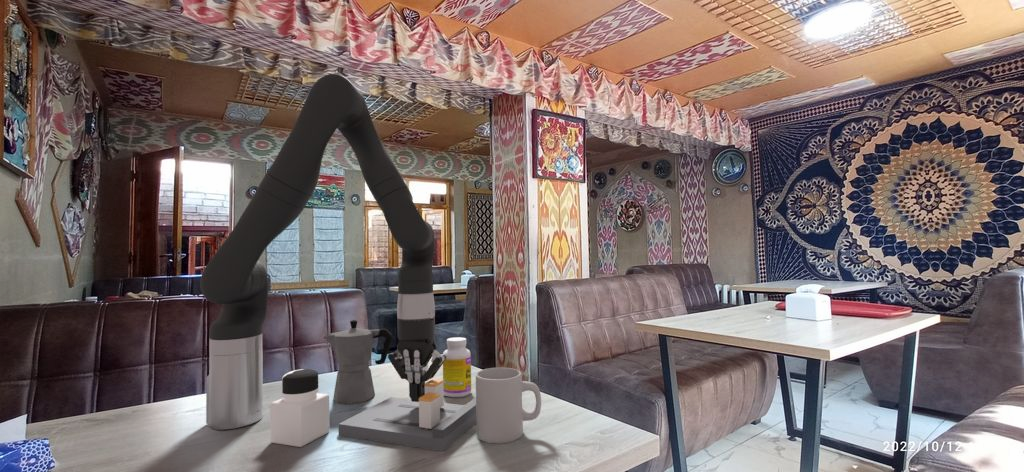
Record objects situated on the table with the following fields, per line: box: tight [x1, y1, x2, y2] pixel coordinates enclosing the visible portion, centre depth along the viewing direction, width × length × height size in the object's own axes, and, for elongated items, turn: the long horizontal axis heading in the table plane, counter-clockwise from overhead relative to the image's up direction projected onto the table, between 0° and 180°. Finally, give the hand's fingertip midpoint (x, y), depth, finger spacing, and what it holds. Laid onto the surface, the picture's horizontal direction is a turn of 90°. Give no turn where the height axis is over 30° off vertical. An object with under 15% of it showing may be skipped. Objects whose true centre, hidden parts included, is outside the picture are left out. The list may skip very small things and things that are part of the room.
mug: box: [475, 367, 542, 444], centre depth 81 cm, size 12×8×11 cm
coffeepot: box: [323, 319, 394, 405], centre depth 104 cm, size 15×9×18 cm, turn 100°
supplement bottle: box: [442, 336, 472, 398], centre depth 105 cm, size 7×7×13 cm
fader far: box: [425, 378, 445, 408], centre depth 89 cm, size 2×3×5 cm
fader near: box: [419, 393, 440, 429], centre depth 80 cm, size 2×3×5 cm
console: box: [337, 396, 476, 452], centre depth 86 cm, size 22×16×4 cm
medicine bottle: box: [269, 368, 330, 448], centre depth 82 cm, size 7×7×12 cm
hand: (417, 400), depth 90 cm, fingers closed
